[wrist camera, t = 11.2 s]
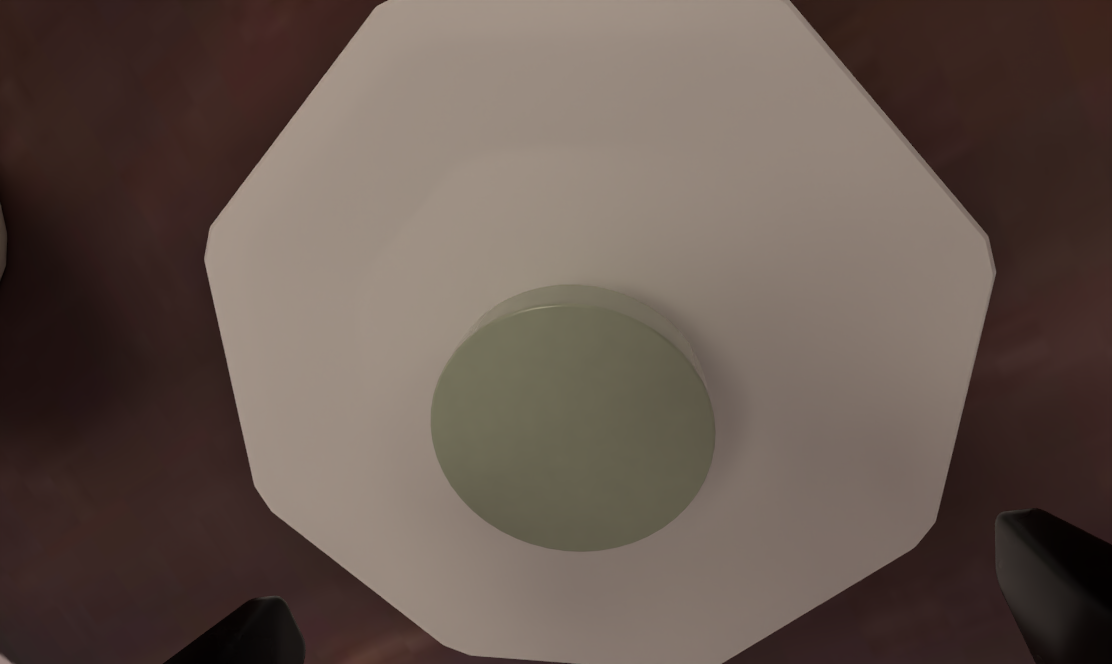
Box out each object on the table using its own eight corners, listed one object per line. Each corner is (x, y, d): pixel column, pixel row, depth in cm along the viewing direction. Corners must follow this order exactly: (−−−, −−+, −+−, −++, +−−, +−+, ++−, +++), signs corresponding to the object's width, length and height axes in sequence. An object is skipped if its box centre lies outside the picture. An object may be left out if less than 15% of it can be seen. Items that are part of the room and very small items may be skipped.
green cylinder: (683, 248, 16) (690, 277, 14) (724, 483, 19) (735, 535, 17) (419, 300, 18) (392, 333, 16) (489, 514, 20) (473, 566, 18)
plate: (881, 651, 22) (897, 691, 21) (305, 610, 25) (286, 643, 23) (1033, -24, 15) (1073, -31, 14) (181, -3, 17) (141, -6, 16)
